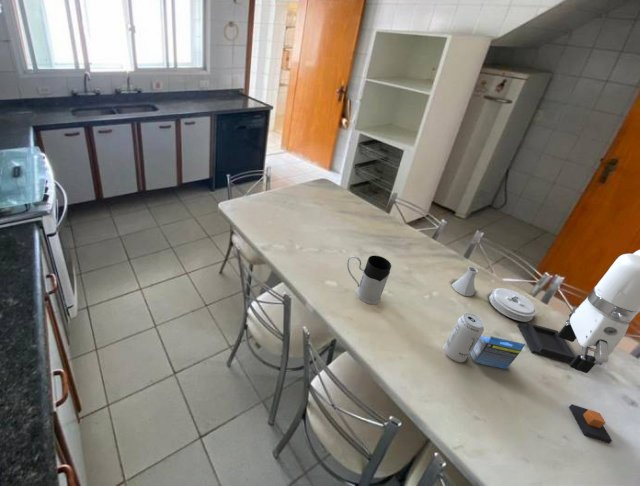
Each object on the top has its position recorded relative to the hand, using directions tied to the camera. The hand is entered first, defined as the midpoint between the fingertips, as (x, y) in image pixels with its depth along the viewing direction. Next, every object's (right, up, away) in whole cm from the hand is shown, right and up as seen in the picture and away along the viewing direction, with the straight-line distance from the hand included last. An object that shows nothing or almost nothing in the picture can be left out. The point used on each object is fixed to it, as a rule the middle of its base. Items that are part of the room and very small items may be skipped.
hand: (571, 353), depth 82 cm
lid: (+13, -2, +35) cm, 37 cm away
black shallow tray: (+15, -8, +22) cm, 28 cm away
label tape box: (-10, -10, +15) cm, 21 cm away
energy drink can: (-19, -9, +16) cm, 27 cm away
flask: (+1, +3, +42) cm, 42 cm away
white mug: (-39, +3, +37) cm, 54 cm away
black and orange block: (+4, -19, +1) cm, 19 cm away
